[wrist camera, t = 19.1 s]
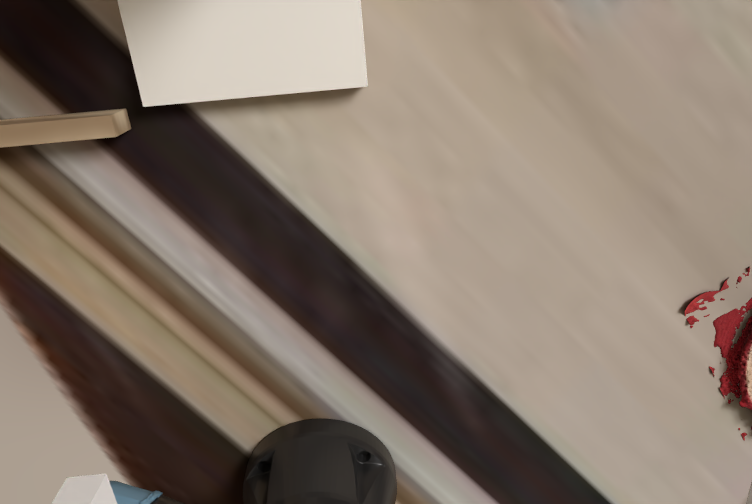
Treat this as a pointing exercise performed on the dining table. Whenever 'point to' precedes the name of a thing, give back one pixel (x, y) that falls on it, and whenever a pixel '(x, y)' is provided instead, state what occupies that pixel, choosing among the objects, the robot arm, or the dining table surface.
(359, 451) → the robot arm
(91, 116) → the rails
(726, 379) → the plate with food
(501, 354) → the dining table surface
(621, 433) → the dining table surface
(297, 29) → the board
